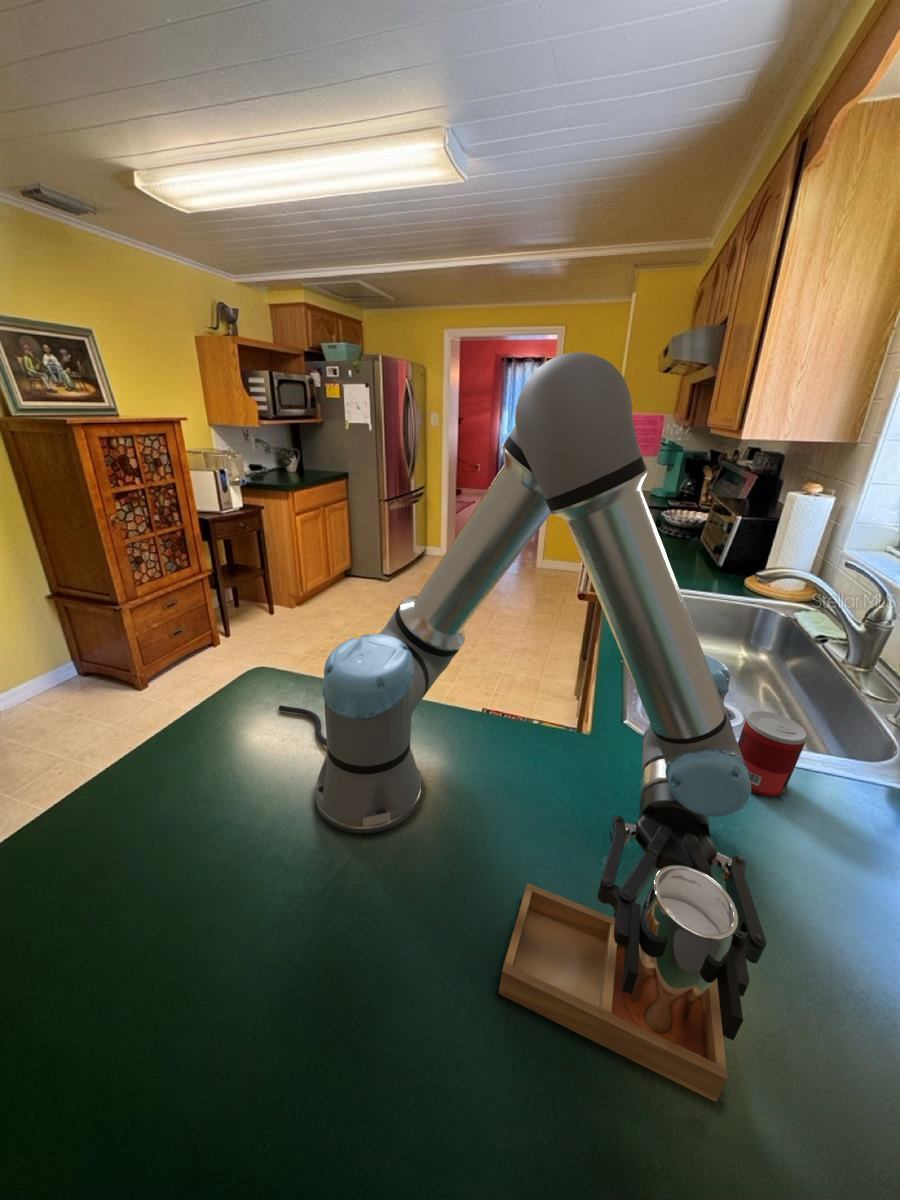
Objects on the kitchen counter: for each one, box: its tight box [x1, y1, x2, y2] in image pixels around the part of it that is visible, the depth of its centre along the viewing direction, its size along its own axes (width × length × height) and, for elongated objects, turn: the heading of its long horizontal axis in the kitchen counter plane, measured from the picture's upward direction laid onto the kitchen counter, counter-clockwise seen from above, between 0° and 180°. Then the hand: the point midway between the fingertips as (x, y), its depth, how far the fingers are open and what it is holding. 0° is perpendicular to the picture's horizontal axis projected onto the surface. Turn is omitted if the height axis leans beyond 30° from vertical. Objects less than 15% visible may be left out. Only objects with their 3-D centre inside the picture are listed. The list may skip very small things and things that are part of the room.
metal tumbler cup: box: [624, 865, 738, 1043], centre depth 43 cm, size 7×7×15 cm
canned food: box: [737, 710, 808, 797], centre depth 75 cm, size 8×8×11 cm
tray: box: [498, 882, 729, 1103], centre depth 47 cm, size 10×19×4 cm, turn 67°
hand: (679, 1004), depth 38 cm, fingers open, 7 cm apart
